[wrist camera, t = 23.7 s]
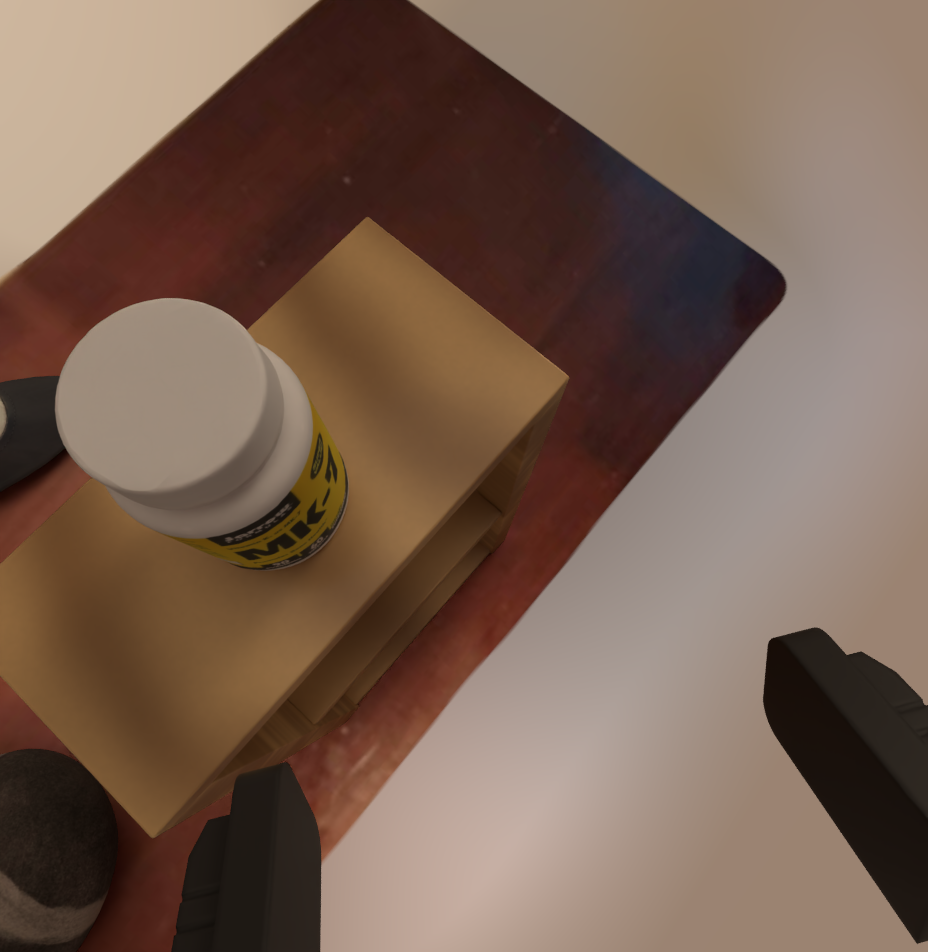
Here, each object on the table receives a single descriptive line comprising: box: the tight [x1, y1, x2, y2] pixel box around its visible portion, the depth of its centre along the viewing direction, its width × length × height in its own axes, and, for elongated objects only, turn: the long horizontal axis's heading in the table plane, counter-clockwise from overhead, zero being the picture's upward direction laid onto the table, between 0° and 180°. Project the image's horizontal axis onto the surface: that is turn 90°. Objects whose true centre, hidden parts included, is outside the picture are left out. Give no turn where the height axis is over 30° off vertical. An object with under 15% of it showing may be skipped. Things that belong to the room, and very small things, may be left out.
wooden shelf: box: [0, 217, 569, 838], centre depth 36 cm, size 18×9×32 cm, turn 139°
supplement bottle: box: [55, 298, 349, 571], centre depth 17 cm, size 5×5×8 cm
